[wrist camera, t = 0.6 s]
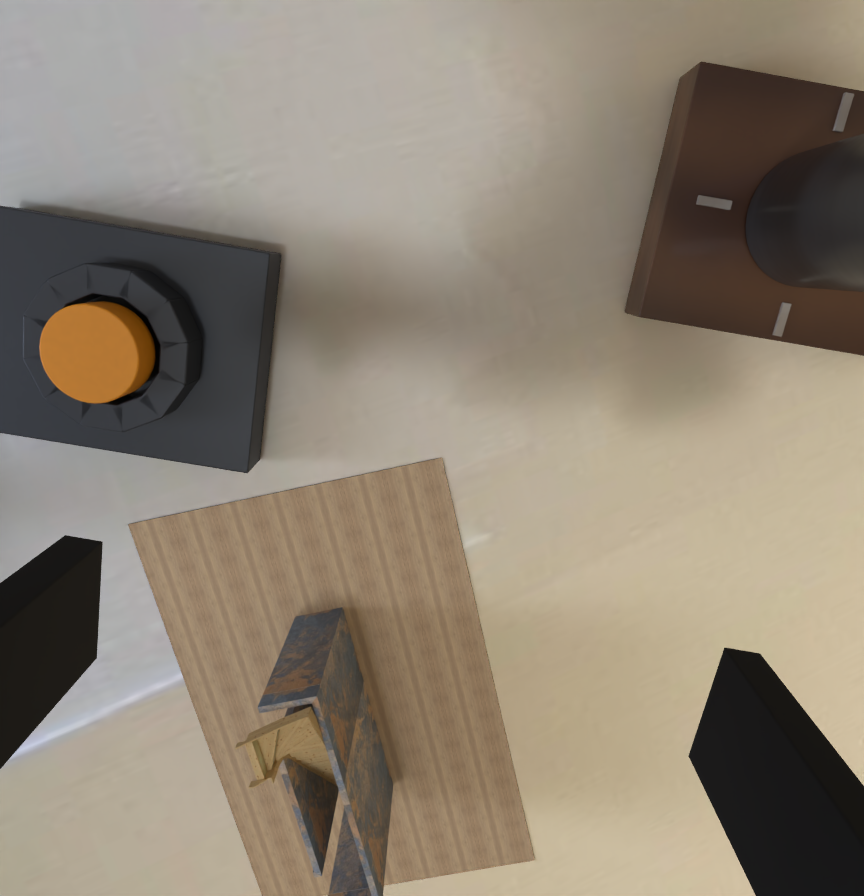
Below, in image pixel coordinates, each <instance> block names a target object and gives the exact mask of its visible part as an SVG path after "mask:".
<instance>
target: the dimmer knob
mask: <svg viewBox="0 0 864 896" xmlns="http://www.w3.org/2000/svg"><path fill="white" fill-rule="evenodd" d="M746 239H747V244H748V247H749V250H750V253H751V255H752V257H753V259H754V261H755V262H756V264H757V265H758V267H759V268H760V269H761V270H762V271H763V272H764V273H765V274H767V275H768V276H769V277H770V278H772V279H774V280H775V281H777V282H780V283H782V284H785V285H789V286H793V287H803V288H817V289H830V290H843V291H857V292H864V134H860V135H857V136H854V137H850V138H847V139H844V140H841V141H837V142H834V143H831V144H827V145H824V146H821V147H817V148H814V149H811V150H807V151H804V152H801V153H798V154H796V155H793V156H791V157H789V158H787V159H786V160H784V161H782V162H781V163H779V164H778V165H777V166H776V167H774V168H773V169H772V170H771V171H770V172H769V173H768V174H767V175H766V176H765V178H764V179H763V180H762V181H761V183H760V184H759V186H758V187H757V189H756V191H755V193H754V195H753V197H752V199H751V202H750V205H749V208H748V212H747V217H746Z"/></svg>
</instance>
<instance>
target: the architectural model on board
mask: <svg viewBox="0 0 864 896" xmlns="http://www.w3.org/2000/svg"><path fill="white" fill-rule="evenodd" d="M128 526H129V528H130V531H131V534H132V537H133V539H134V542H135V545H136V548H137V551H138V553H139V556H140V559H141V562H142V564H143V567H144V570H145V573H146V575H147V578H148V581H149V584H150V586H151V589H152V592H153V595H154V598H155V600H156V603H157V606H158V609H159V611H160V614H161V617H162V620H163V622H164V625H165V628H166V631H167V633H168V636H169V639H170V642H171V645H172V647H173V650H174V653H175V656H176V658H177V661H178V664H179V667H180V669H181V672H182V675H183V678H184V680H185V683H186V686H187V689H188V692H189V694H190V697H191V700H192V703H193V705H194V708H195V711H196V714H197V716H198V719H199V722H200V725H201V727H202V730H203V733H204V736H205V739H206V741H207V744H208V747H209V750H210V752H211V755H212V758H213V761H214V763H215V766H216V769H217V772H218V775H219V777H220V780H221V783H222V786H223V788H224V791H225V794H226V797H227V799H228V802H229V805H230V808H231V810H232V813H233V816H234V819H235V822H236V824H237V827H238V830H239V833H240V835H241V838H242V841H243V844H244V846H245V849H246V852H247V855H248V857H249V860H250V863H251V866H252V869H253V871H254V874H255V877H256V880H257V882H258V885H259V888H260V891H261V893H262V896H323V895H328V896H383V888H384V885H389V884H395V883H401V882H407V881H413V880H419V879H425V878H431V877H437V876H443V875H449V874H455V873H461V872H467V871H473V870H479V869H485V868H491V867H497V866H503V865H509V864H515V863H521V862H527V861H533V860H534V855H533V851H532V847H531V842H530V838H529V834H528V829H527V825H526V821H525V816H524V812H523V808H522V803H521V799H520V795H519V790H518V786H517V782H516V777H515V773H514V769H513V764H512V760H511V756H510V751H509V747H508V743H507V738H506V734H505V730H504V725H503V721H502V717H501V712H500V708H499V704H498V699H497V695H496V691H495V686H494V682H493V678H492V673H491V669H490V665H489V660H488V656H487V651H486V647H485V643H484V638H483V634H482V630H481V625H480V621H479V617H478V612H477V608H476V604H475V599H474V595H473V591H472V586H471V582H470V578H469V573H468V569H467V565H466V560H465V556H464V552H463V547H462V543H461V539H460V534H459V530H458V526H457V521H456V517H455V513H454V508H453V504H452V500H451V495H450V491H449V487H448V482H447V478H446V474H445V469H444V465H443V461H442V458H438V459H434V460H429V461H424V462H419V463H415V464H410V465H405V466H401V467H396V468H391V469H386V470H382V471H377V472H372V473H368V474H363V475H358V476H353V477H349V478H344V479H339V480H335V481H330V482H325V483H320V484H316V485H311V486H306V487H302V488H297V489H292V490H288V491H283V492H278V493H273V494H269V495H264V496H259V497H255V498H250V499H245V500H240V501H236V502H231V503H226V504H222V505H217V506H212V507H207V508H203V509H198V510H193V511H189V512H184V513H179V514H174V515H170V516H165V517H160V518H156V519H151V520H146V521H141V522H137V523H132V524H128Z"/></svg>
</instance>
